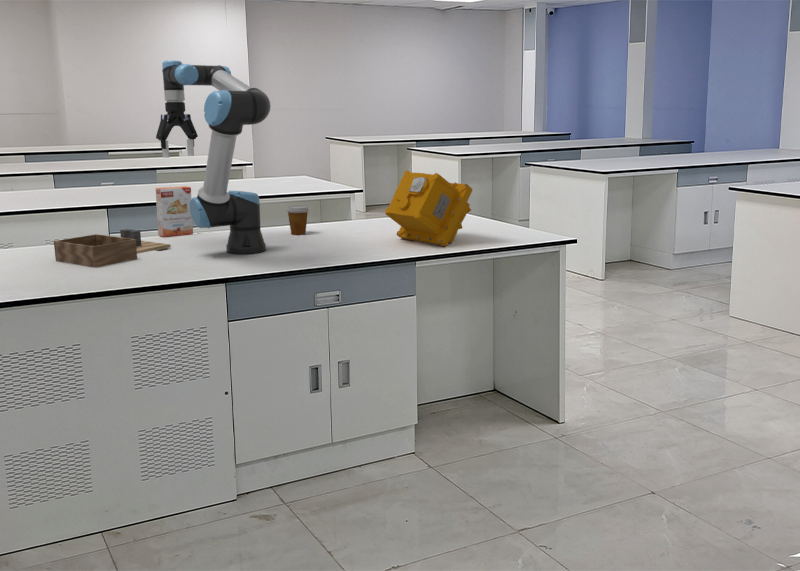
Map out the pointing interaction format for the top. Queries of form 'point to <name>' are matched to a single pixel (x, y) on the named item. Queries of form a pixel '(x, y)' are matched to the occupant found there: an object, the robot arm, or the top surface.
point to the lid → (142, 245)
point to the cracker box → (174, 211)
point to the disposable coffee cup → (297, 219)
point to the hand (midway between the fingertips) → (178, 156)
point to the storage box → (95, 250)
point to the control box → (429, 208)
